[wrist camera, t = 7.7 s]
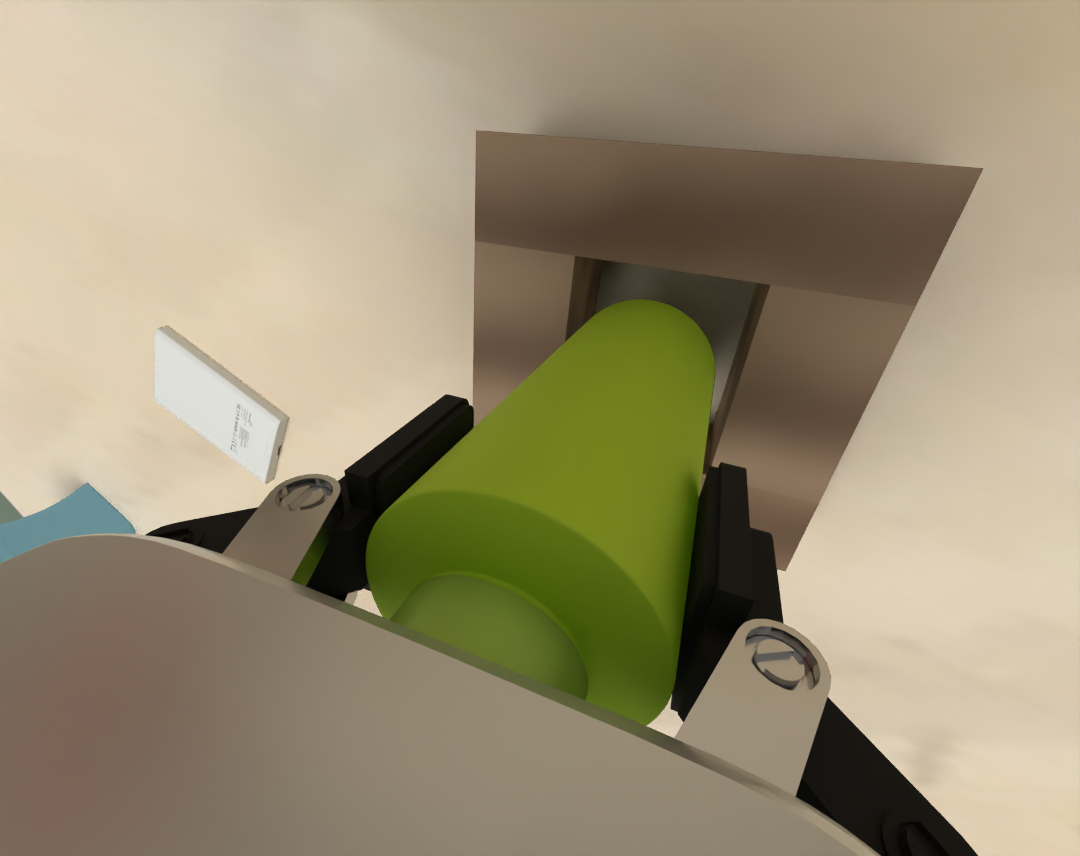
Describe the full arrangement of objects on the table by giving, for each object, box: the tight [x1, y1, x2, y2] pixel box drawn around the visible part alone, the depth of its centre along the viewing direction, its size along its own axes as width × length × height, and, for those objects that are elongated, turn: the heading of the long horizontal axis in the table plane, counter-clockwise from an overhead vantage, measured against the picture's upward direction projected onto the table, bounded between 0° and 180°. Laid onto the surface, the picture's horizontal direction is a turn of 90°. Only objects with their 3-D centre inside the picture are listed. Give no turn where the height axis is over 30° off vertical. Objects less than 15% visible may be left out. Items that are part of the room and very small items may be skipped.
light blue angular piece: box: [0, 483, 135, 563], centre depth 49 cm, size 8×8×20 cm
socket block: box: [473, 130, 983, 571], centre depth 21 cm, size 16×16×5 cm
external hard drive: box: [154, 326, 289, 484], centre depth 39 cm, size 2×8×12 cm
